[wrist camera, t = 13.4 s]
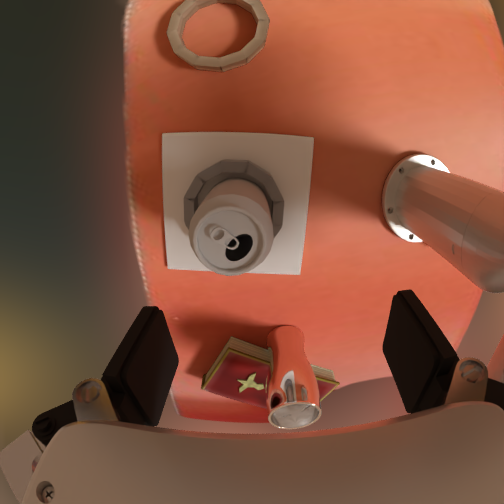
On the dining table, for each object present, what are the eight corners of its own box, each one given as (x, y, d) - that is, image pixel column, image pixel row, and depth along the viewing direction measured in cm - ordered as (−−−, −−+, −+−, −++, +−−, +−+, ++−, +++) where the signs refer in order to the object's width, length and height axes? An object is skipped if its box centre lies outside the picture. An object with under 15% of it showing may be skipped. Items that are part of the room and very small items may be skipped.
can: (241, 246, 36) (235, 298, 25) (194, 210, 34) (167, 248, 23) (280, 203, 34) (294, 239, 23) (232, 163, 32) (221, 179, 21)
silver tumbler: (314, 330, 42) (334, 406, 29) (293, 359, 45) (304, 432, 31) (275, 317, 41) (283, 396, 27) (256, 347, 44) (257, 425, 30)
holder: (313, 137, 31) (318, 137, 28) (299, 272, 38) (302, 284, 35) (163, 133, 31) (155, 133, 28) (169, 266, 38) (162, 277, 35)
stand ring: (286, 26, 25) (288, 19, 23) (224, 88, 29) (221, 84, 26) (216, -16, 22) (213, -25, 20) (155, 42, 26) (149, 37, 23)
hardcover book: (299, 402, 51) (301, 418, 47) (203, 374, 47) (200, 391, 43) (335, 368, 47) (339, 385, 43) (230, 331, 43) (228, 350, 39)
